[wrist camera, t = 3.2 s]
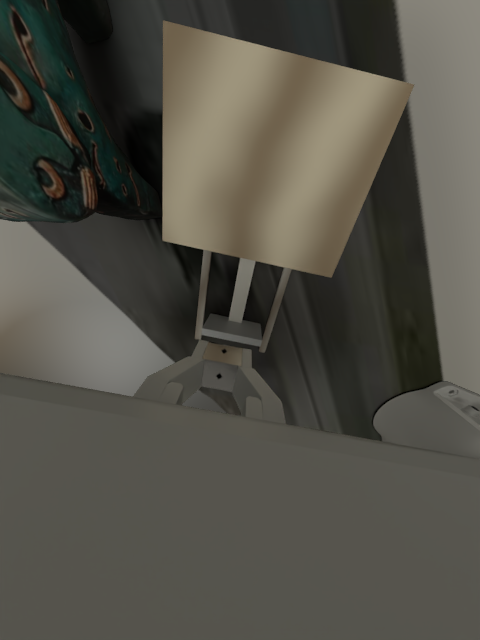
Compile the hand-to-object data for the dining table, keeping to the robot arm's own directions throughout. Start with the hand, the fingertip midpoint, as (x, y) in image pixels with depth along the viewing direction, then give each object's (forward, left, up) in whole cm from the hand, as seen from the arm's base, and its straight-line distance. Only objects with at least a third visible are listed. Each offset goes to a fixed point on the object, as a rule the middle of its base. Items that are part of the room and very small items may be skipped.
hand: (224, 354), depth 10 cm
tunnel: (0, -5, -16) cm, 17 cm away
